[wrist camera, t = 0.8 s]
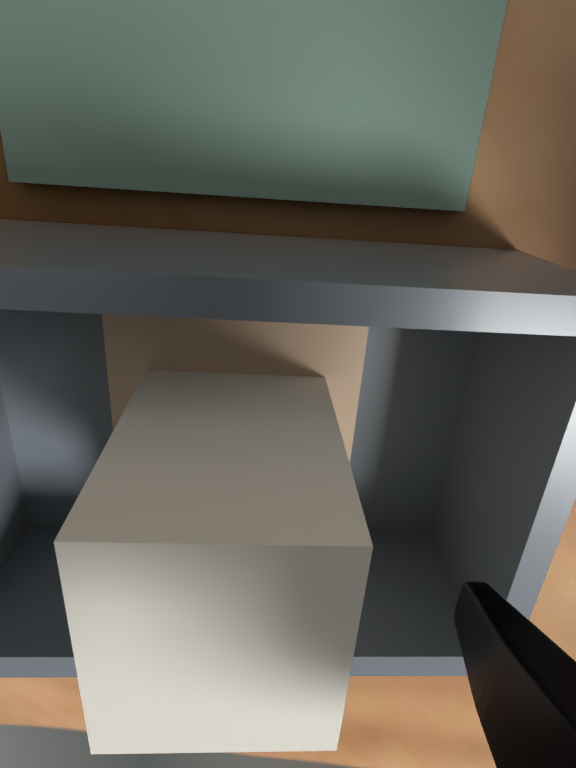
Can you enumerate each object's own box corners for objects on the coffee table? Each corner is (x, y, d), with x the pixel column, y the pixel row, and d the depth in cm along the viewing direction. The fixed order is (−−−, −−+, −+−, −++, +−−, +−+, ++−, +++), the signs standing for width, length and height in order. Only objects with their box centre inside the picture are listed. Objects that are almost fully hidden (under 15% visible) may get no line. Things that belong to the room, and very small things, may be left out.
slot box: (517, 249, 14) (651, 299, 9) (443, 539, 19) (507, 675, 14) (-53, 215, 13) (-242, 252, 8) (15, 532, 18) (-80, 677, 13)
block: (325, 376, 13) (373, 546, 7) (308, 529, 15) (336, 750, 9) (146, 369, 12) (53, 541, 7) (155, 527, 14) (91, 754, 9)
